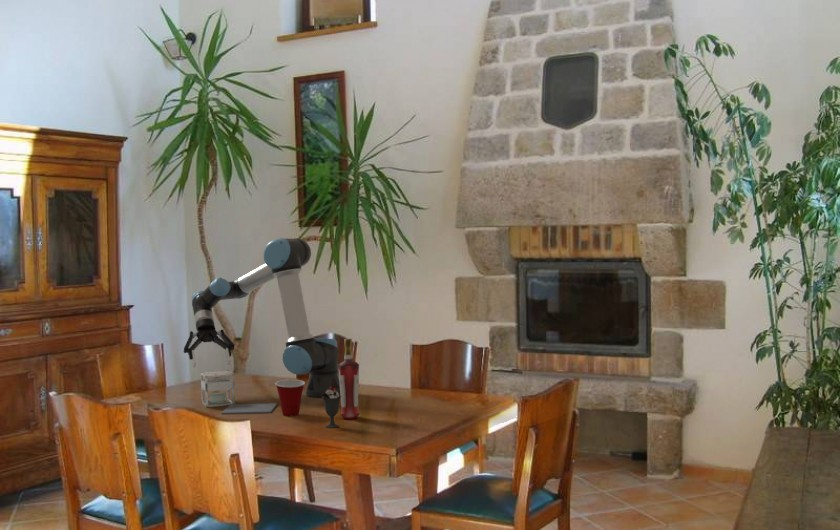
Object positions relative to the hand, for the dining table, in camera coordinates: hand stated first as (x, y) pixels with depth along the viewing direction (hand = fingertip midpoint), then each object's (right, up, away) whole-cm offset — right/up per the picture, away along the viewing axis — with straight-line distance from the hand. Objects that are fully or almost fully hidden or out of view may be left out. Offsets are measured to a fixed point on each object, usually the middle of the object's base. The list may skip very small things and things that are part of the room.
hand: (211, 363), depth 364 cm
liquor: (+59, -15, -43) cm, 74 cm away
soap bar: (+4, -15, -9) cm, 18 cm away
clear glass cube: (+4, -15, -9) cm, 18 cm away
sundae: (+54, -15, -57) cm, 80 cm away
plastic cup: (+37, -15, -35) cm, 52 cm away
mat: (+19, -15, -23) cm, 33 cm away
